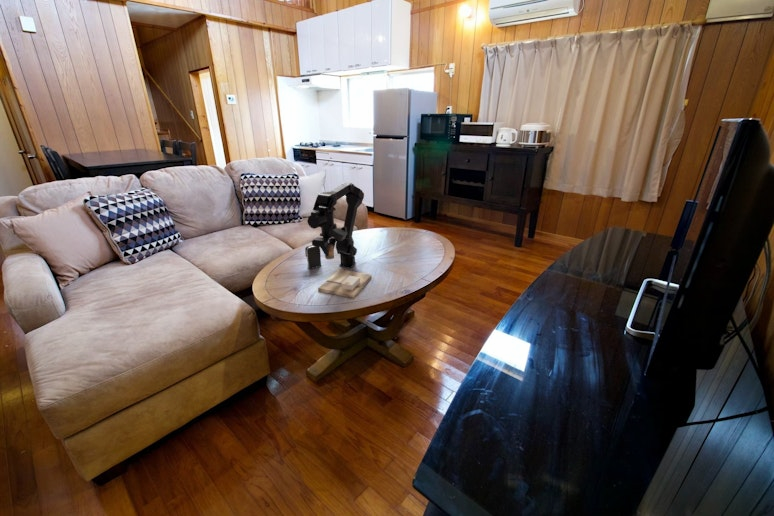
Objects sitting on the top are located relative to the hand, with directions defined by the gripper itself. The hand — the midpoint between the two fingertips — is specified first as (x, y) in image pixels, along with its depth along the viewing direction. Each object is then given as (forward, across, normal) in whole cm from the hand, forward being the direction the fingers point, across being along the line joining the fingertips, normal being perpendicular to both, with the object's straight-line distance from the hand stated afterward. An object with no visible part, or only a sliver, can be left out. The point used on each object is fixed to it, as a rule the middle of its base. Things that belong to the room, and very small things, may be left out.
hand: (329, 254), depth 152 cm
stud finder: (+10, -7, -14) cm, 18 cm away
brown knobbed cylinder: (+2, 0, 0) cm, 2 cm away
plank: (+12, -4, -10) cm, 16 cm away
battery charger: (+12, +7, +14) cm, 19 cm away
